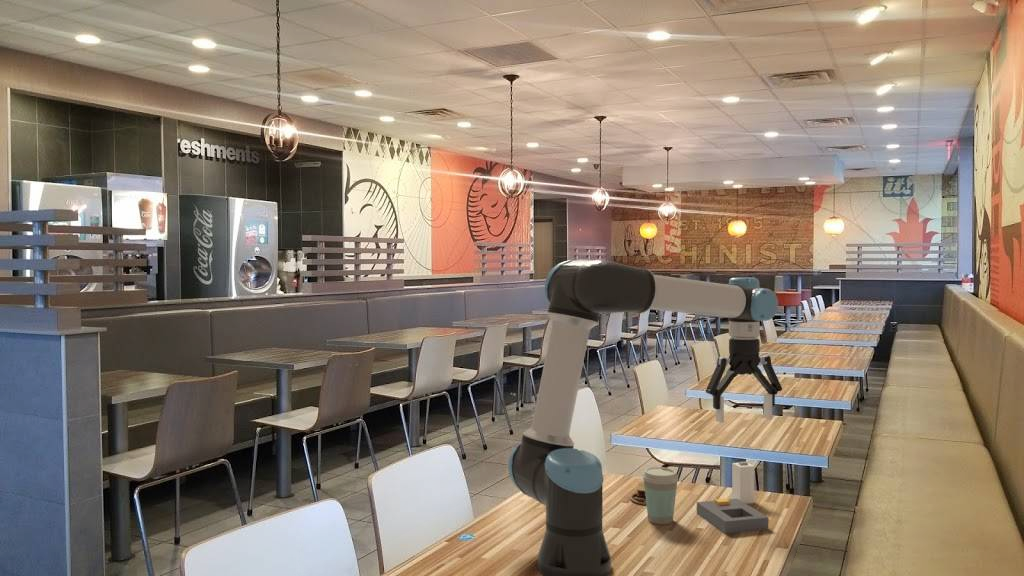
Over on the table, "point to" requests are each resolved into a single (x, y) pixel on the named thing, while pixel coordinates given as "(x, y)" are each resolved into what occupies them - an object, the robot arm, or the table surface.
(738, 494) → the block
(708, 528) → the table surface
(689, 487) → the table surface
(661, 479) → the coffee cup
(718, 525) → the grey charger dock
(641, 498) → the toy sandwich meal
